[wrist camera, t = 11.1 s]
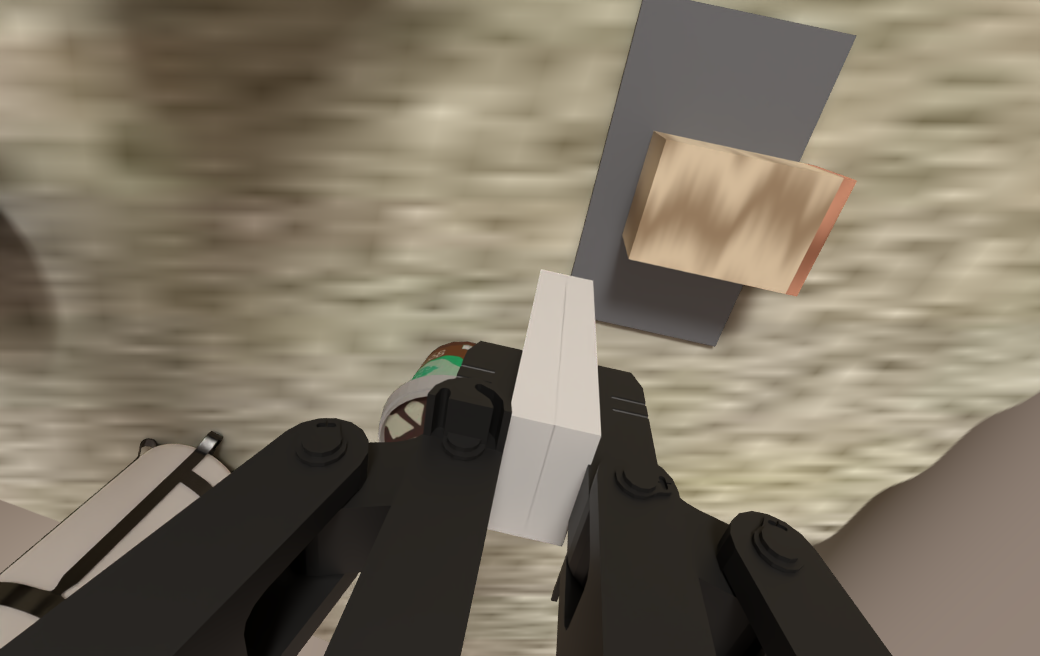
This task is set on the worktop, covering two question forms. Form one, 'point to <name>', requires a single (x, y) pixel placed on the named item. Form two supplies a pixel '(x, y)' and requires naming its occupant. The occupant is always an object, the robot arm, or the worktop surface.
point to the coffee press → (106, 529)
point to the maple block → (732, 213)
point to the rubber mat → (705, 117)
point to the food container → (419, 393)
